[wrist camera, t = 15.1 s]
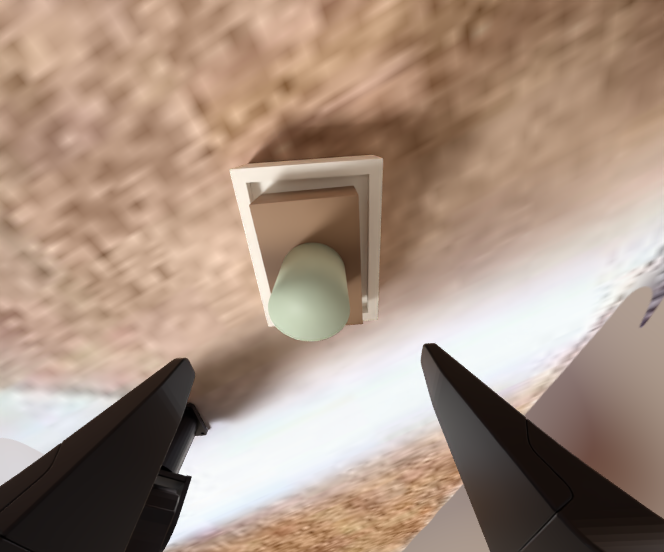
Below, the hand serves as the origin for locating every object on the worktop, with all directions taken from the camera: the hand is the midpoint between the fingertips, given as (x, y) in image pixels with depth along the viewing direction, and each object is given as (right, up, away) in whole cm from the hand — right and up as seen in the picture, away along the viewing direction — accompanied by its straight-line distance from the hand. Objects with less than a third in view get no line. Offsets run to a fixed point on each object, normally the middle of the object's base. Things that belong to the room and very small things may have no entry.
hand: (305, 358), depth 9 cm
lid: (0, +5, +9) cm, 10 cm away
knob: (0, +3, +6) cm, 7 cm away
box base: (0, +6, +11) cm, 13 cm away
